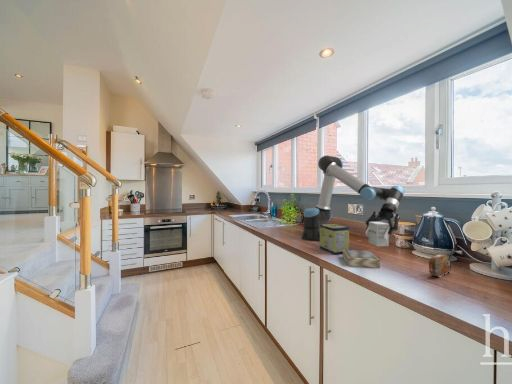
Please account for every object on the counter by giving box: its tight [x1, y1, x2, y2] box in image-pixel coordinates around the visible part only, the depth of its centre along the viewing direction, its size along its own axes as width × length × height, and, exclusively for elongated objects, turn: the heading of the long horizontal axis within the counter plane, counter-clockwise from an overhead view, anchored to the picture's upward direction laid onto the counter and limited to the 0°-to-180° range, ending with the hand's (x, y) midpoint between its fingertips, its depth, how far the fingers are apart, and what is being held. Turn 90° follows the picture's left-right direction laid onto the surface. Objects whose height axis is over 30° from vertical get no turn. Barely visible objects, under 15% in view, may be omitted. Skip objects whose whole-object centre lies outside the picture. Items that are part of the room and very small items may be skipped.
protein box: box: [319, 223, 350, 255], centre depth 127 cm, size 10×16×16 cm
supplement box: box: [368, 221, 390, 247], centre depth 116 cm, size 7×7×13 cm
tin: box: [428, 253, 452, 278], centre depth 90 cm, size 15×3×8 cm, turn 117°
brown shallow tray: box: [342, 249, 381, 269], centre depth 107 cm, size 14×14×4 cm
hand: (375, 236), depth 115 cm, fingers closed on supplement box, 9 cm apart
